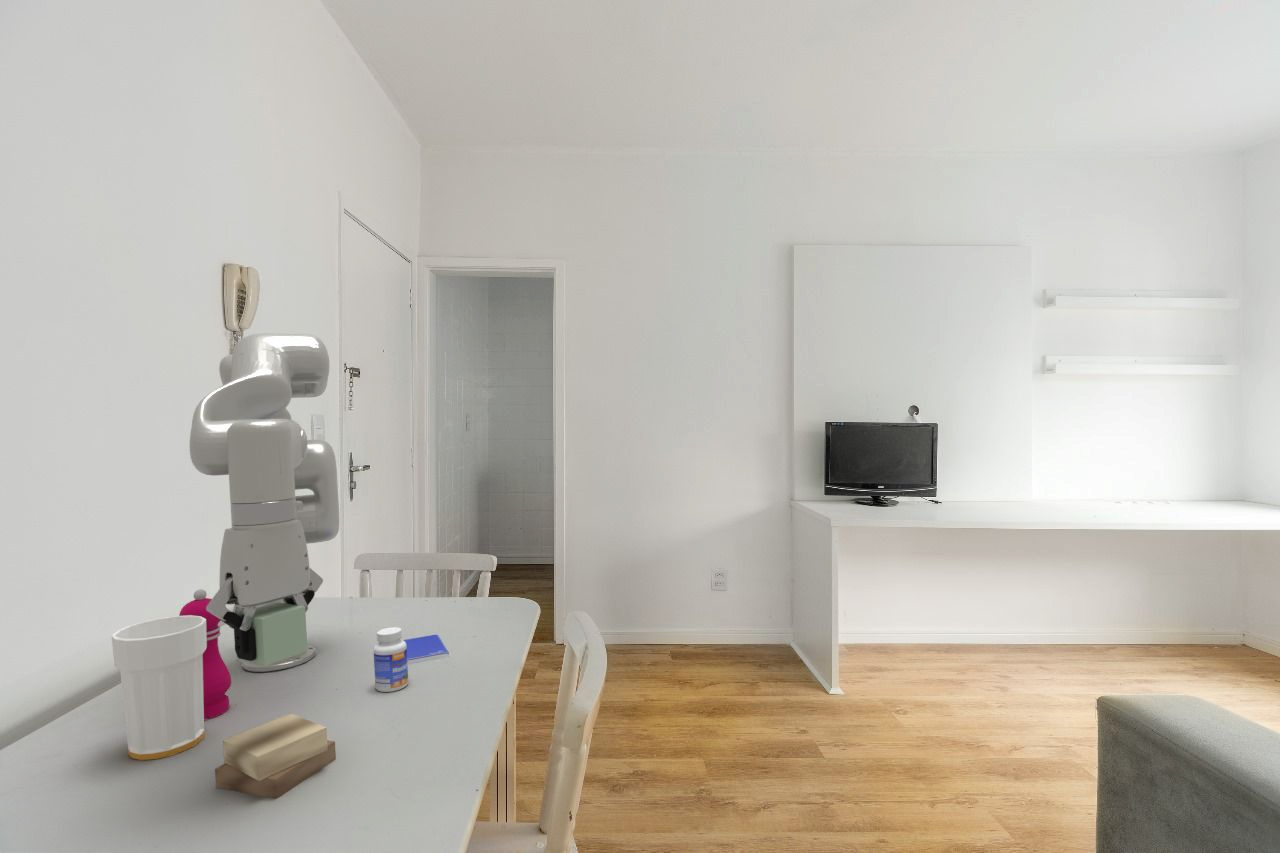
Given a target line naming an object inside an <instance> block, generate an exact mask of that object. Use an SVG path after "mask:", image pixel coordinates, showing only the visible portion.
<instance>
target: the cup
mask: <svg viewBox="0 0 1280 853" xmlns="http://www.w3.org/2000/svg"><path fill="white" fill-rule="evenodd" d="M111 643H112V644H111V645H112V652H113V654H112V655H113V662H114V666H115V667H116V668H117V669H118V670H119V674H120V681H121V682H120V683H121V690H122V691H121V692H122V693H121V694H122V701H123V702H122V703H123V710H124V721H125V723H124V724H125V730H126V740H127V741H126V742H127V750H128V755H129V757H130V758H132V759H135V760H139V761H146V760H147V761H148V760H156V759H162V758H168V757H171V756H174V755H177V754H180V753H183V752H184V751H187V750H188V749H191V748H193V747H195V746H196V745H197V744H200V742H201V741H202V740H203V738H204V736H205V719H204V701H203V653H204V651H205V650H206V648H207V634H206V619H205V618H203V617H201V616H193V615H188V616H179V615H173V616H168V617H167V616H166V617H159V618H155V619H150V620H144V621H141V622H137V623H135V624H134V623H133V624H130V625H128V626H125V627H123V628H121V629H119V630H116V631H115V632H114V633H113V634H112V635H111Z"/></svg>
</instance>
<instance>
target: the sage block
mask: <svg viewBox="0 0 1280 853" xmlns="http://www.w3.org/2000/svg"><path fill="white" fill-rule="evenodd" d="M251 628H253V629H255V638H256V659H255V660H253V661H248V660H244V659H239V658H238V657H237V654H236V653H235V659H236V661H240V662H242V661H243V662H248V663H252V664H257V665H261V666H267V665H270V664H273V663H275V662H278V661H281V660H284V659H287V658H289V657H292V656H295V655H298V654H301V653H304V652H306V651H307V644H308V637H307V635H308V634H307V618H306V613H305V606H299V605H293V604H286V603H280V602H276V603H272V604H269V605H265V606H261V607H258V608H256V610H255V613H254V616H253V620H252V623H251Z"/></svg>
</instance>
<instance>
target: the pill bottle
mask: <svg viewBox="0 0 1280 853" xmlns="http://www.w3.org/2000/svg"><path fill="white" fill-rule="evenodd" d="M402 637H403V633H402V628H400V627H394V626H393V627H385V628H382V629H379V630H378V631H377V632H376V640H377V643H376V644H375V645H374V647H373V667H374V686H375V689H376V691H379V692H380V693H381V692H383V693H390V692H396V691H399V690H402V689H404V688H406V687H407V686H408V684H409V669H408V668H409V667H408V666H409V665H407V645H406V642H405V641H403V640H404V639H402Z"/></svg>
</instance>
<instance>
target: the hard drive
mask: <svg viewBox="0 0 1280 853" xmlns="http://www.w3.org/2000/svg"><path fill="white" fill-rule="evenodd" d="M402 640H403V641H405V642H406V645H407V665H408V664H409V665H413V663H414V664H417V663H418V664H419V663H423V662H430V661H434V660H440V659H447V658H450V652H449V651H448V649H447V647H446V646H445V644H444V642H443V641H442V639H441V637H440V636H439V634H431V635H425V636H420V637H413V638H408V639H402ZM409 665H408V666H409Z"/></svg>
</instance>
